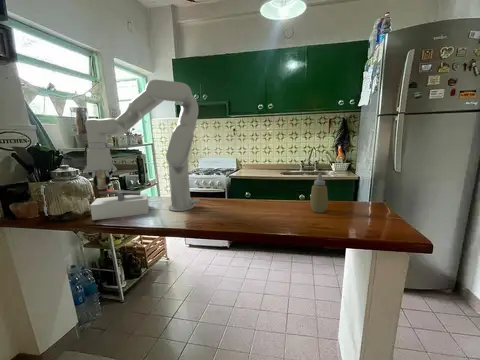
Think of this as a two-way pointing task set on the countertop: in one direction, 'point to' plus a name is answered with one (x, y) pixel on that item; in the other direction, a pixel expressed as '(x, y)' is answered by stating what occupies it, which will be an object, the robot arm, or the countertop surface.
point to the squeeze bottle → (319, 195)
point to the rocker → (120, 192)
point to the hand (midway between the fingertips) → (102, 184)
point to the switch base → (119, 206)
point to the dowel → (101, 180)
